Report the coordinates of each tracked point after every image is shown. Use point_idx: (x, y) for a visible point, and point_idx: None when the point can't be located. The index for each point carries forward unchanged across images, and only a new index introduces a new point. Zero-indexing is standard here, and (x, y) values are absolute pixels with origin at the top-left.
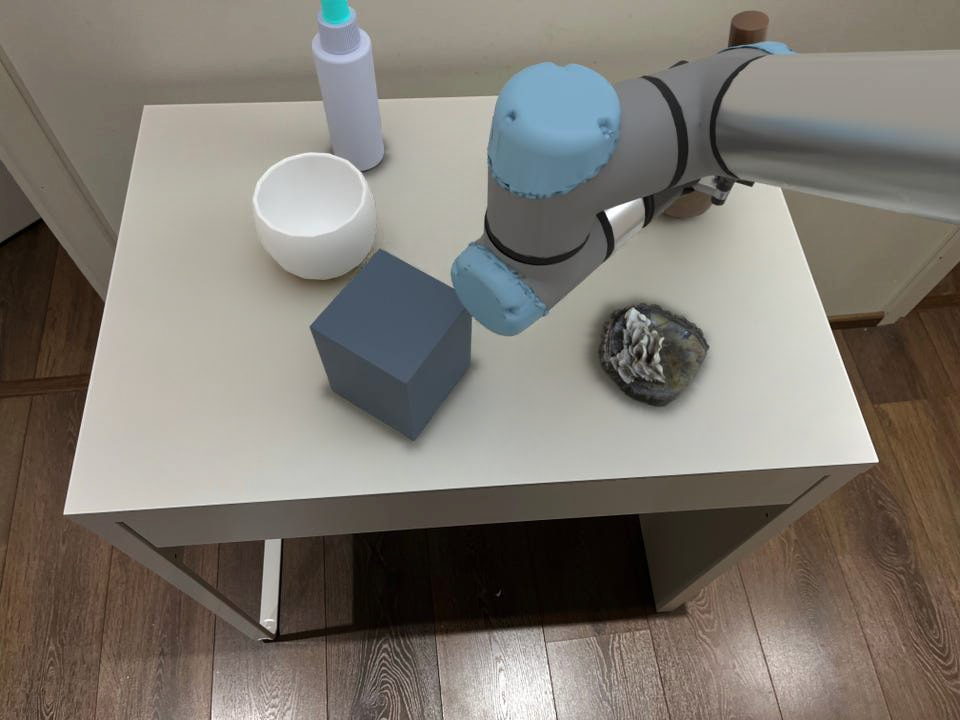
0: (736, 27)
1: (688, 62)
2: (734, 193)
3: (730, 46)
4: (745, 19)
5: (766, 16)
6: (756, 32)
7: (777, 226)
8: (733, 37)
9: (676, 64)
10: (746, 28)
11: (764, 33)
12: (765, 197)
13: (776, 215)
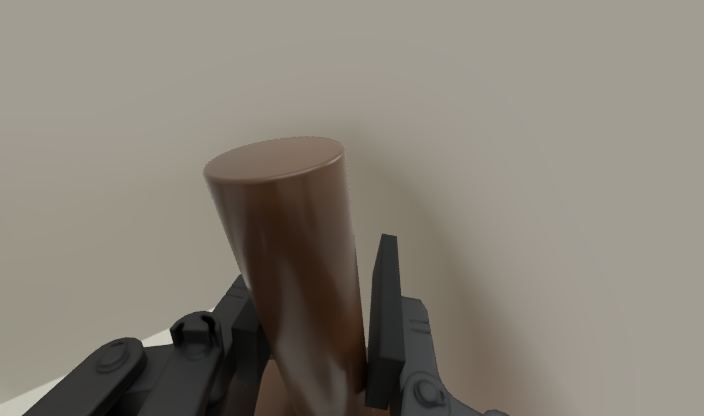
0: (228, 181)
1: (133, 340)
2: None
3: (243, 260)
4: (258, 156)
5: (323, 139)
6: (324, 179)
7: None
8: (237, 226)
9: (74, 373)
10: (276, 172)
11: (347, 181)
12: None
13: None
